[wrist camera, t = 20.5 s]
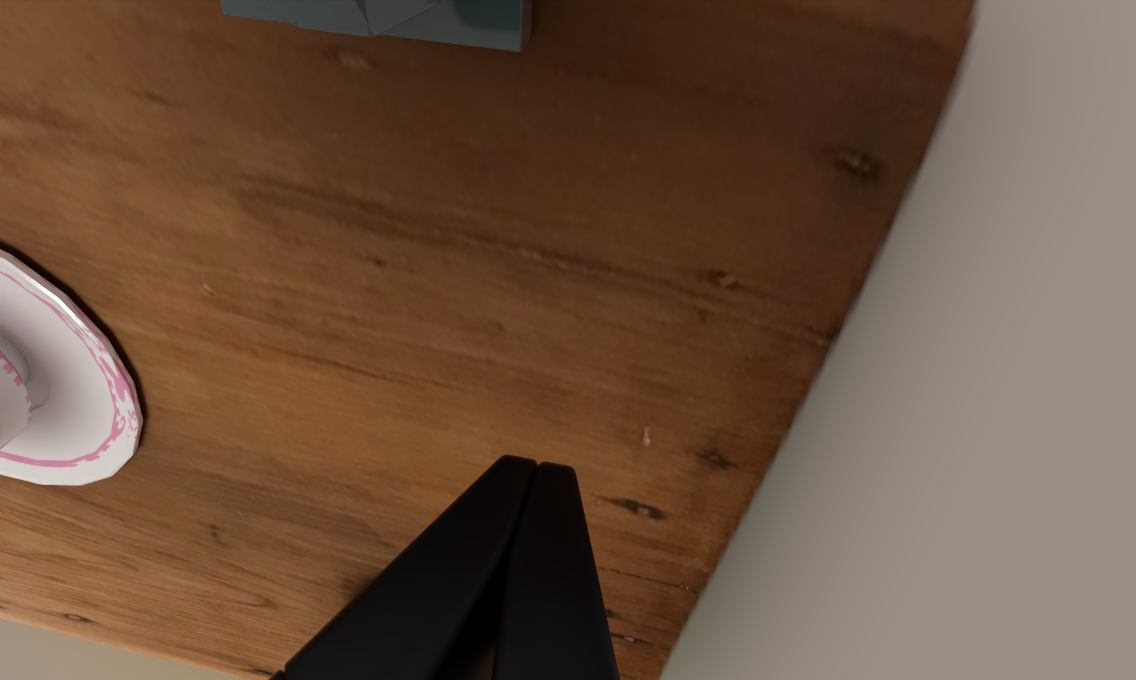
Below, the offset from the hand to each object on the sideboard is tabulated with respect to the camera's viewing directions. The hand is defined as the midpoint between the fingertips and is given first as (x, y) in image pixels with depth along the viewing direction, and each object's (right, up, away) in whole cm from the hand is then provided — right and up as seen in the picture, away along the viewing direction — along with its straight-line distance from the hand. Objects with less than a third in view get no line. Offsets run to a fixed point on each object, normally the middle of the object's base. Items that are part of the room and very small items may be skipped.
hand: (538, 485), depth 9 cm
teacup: (-21, +1, +19) cm, 28 cm away
